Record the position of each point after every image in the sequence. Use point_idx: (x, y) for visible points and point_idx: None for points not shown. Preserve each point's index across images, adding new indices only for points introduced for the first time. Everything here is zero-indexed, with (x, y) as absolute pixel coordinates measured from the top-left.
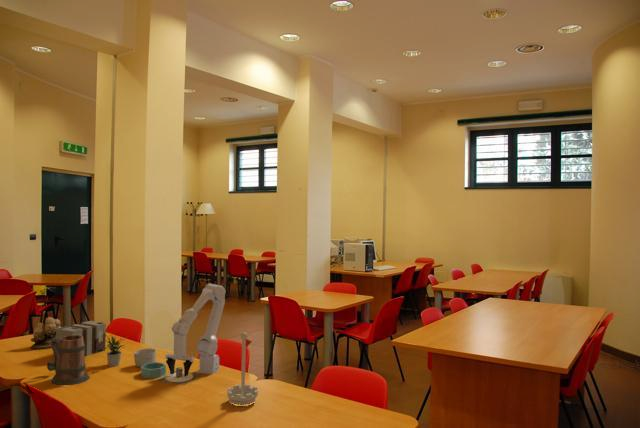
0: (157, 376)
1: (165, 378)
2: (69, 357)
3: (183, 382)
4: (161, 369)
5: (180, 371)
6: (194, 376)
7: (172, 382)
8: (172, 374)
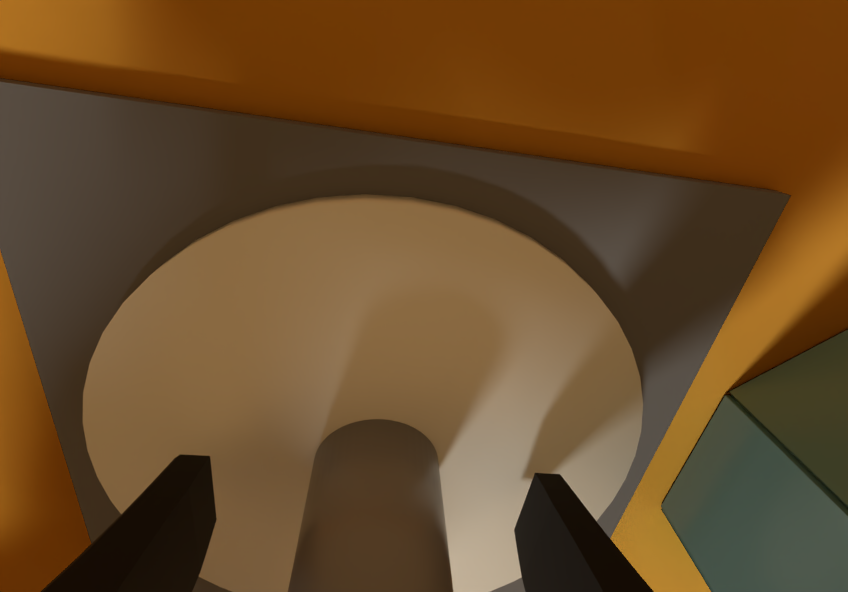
0: (800, 388)
1: (614, 318)
2: None
3: (108, 234)
4: (834, 554)
5: (306, 558)
6: None
7: (374, 176)
8: None
